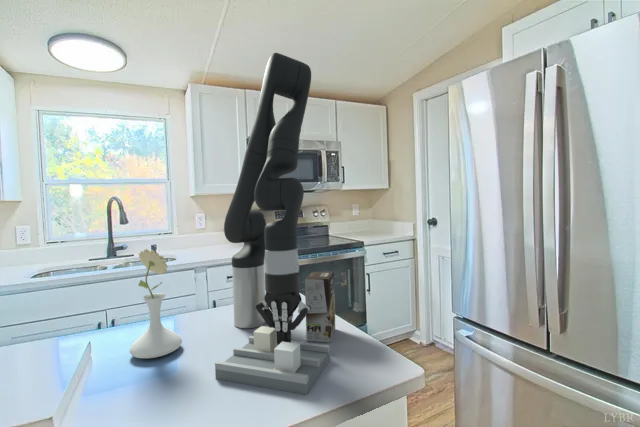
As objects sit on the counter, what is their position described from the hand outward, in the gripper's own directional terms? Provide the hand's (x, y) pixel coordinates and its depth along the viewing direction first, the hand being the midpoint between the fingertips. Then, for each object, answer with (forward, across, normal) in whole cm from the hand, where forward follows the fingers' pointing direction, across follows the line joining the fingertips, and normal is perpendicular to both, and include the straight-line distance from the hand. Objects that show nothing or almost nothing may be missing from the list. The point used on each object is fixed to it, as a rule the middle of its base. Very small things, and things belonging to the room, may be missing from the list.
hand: (284, 346), depth 75 cm
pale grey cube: (+1, +4, -7) cm, 8 cm away
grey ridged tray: (+3, -1, -3) cm, 5 cm away
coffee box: (+4, +3, +16) cm, 17 cm away
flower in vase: (+4, -33, -4) cm, 33 cm away
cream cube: (+1, -4, 0) cm, 5 cm away
